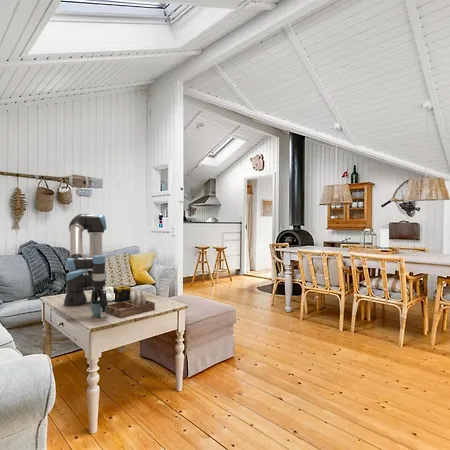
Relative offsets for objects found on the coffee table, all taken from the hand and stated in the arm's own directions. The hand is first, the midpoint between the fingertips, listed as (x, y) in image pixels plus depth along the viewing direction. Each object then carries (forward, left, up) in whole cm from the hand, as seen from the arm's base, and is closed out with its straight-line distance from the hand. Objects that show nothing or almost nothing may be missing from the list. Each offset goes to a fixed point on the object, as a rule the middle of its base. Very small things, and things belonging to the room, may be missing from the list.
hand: (98, 315), depth 205 cm
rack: (+4, +20, 0) cm, 20 cm away
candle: (-25, +31, 0) cm, 40 cm away
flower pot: (0, 0, 0) cm, 0 cm away
